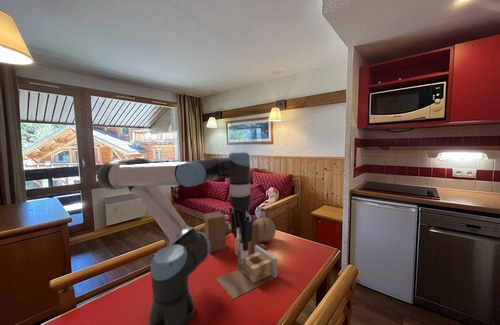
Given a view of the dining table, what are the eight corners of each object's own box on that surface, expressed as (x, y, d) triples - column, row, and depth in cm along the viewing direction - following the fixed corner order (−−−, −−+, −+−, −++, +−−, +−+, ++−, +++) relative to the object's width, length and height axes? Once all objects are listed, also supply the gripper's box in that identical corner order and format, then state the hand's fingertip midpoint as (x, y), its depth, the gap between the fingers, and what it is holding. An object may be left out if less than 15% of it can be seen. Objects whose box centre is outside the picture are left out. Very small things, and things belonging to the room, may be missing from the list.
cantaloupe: (264, 249, 117) (263, 223, 116) (247, 240, 128) (246, 217, 127) (280, 240, 127) (280, 217, 126) (263, 233, 138) (263, 211, 137)
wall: (274, 278, 92) (274, 259, 91) (254, 262, 104) (254, 245, 103) (276, 277, 93) (276, 258, 92) (257, 261, 105) (256, 244, 104)
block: (205, 246, 123) (203, 213, 121) (221, 242, 127) (220, 210, 125) (209, 253, 114) (207, 218, 112) (226, 249, 118) (225, 215, 116)
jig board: (232, 299, 80) (232, 299, 80) (215, 279, 92) (215, 278, 92) (278, 276, 93) (278, 275, 93) (258, 261, 106) (258, 260, 106)
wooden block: (263, 251, 115) (262, 220, 114) (267, 255, 111) (266, 223, 109) (248, 254, 112) (247, 222, 110) (251, 259, 108) (250, 225, 106)
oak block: (253, 283, 88) (253, 269, 87) (241, 271, 96) (240, 258, 96) (271, 274, 94) (271, 261, 93) (258, 264, 102) (258, 252, 101)
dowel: (240, 272, 76) (239, 230, 74) (236, 268, 78) (235, 227, 77) (247, 269, 78) (247, 228, 76) (243, 265, 80) (242, 225, 79)
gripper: (261, 197, 71) (262, 262, 73) (237, 189, 84) (238, 244, 86) (243, 201, 67) (244, 269, 69) (221, 192, 80) (222, 249, 82)
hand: (241, 255), depth 77 cm, fingers closed on dowel, 3 cm apart
